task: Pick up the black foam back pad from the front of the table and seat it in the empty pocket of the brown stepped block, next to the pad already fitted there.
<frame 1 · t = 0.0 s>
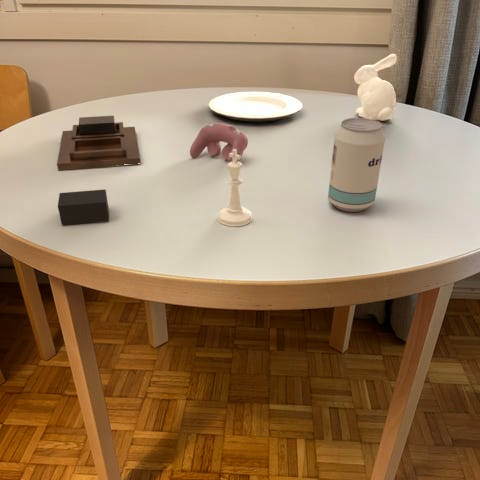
brown stepped block: (100, 150, 99), on the table
rabbit: (371, 115, 117), on the table
chess piece: (234, 220, 76), on the table
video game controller: (219, 160, 95), on the table
plate: (255, 113, 118), on the table
beverage can: (350, 206, 80), on the table
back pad: (85, 216, 76), on the table
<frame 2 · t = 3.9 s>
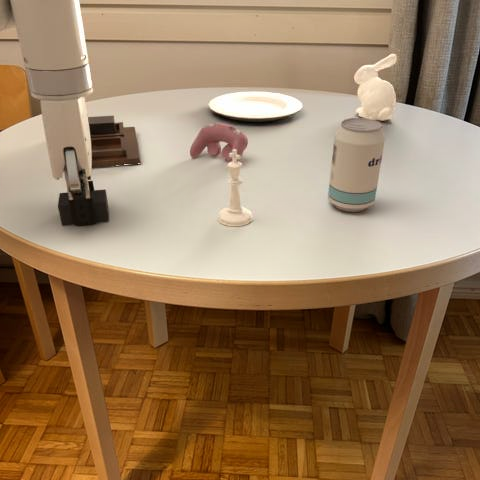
hand: (85, 214, 76), 0 cm above the table, tool pointing down, fingers closed on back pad, 4 cm apart
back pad: (85, 216, 76), on the table, touching gripper
everything else where it was.
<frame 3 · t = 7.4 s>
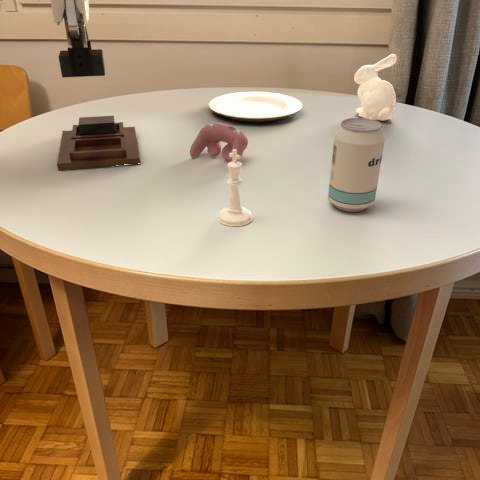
hand: (83, 70, 84), 15 cm above the table, tool pointing down, fingers closed on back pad, 4 cm apart
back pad: (84, 73, 84), point 15 cm above the table, touching gripper
everything else where it was.
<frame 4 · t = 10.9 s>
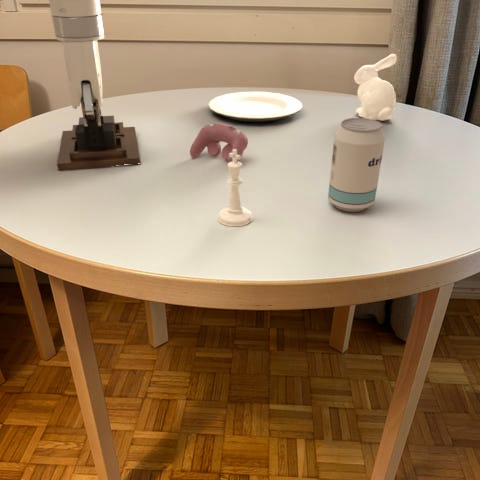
hand: (96, 142, 94), 3 cm above the table, tool pointing down, fingers closed on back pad, 4 cm apart
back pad: (97, 144, 94), point 2 cm above the table, touching gripper
everything else where it was.
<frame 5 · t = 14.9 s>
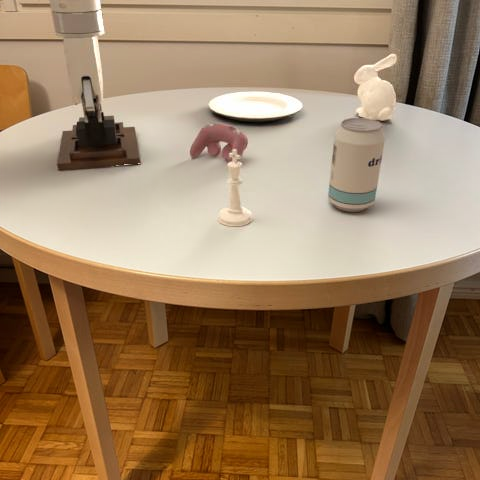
hand: (97, 139, 93), 3 cm above the table, tool pointing down, fingers closed on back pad, 4 cm apart
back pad: (98, 141, 94), point 3 cm above the table, touching gripper
everything else where it was.
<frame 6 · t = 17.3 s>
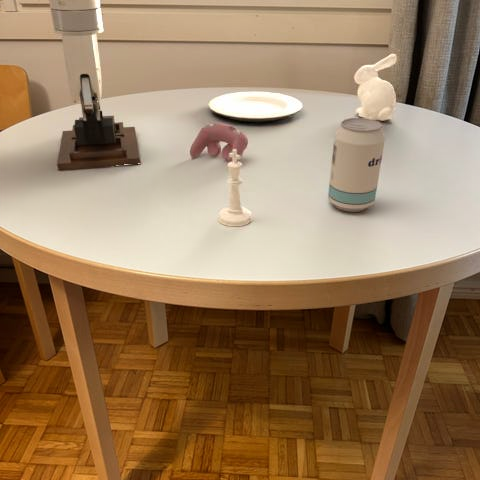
hand: (95, 137, 93), 4 cm above the table, tool pointing down, fingers closed on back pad, 4 cm apart
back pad: (96, 139, 93), point 3 cm above the table, touching gripper
everything else where it was.
when the fingers open (4 cm above the table, at t = 18.9 s): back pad drops 2 cm, resting on brown stepped block.
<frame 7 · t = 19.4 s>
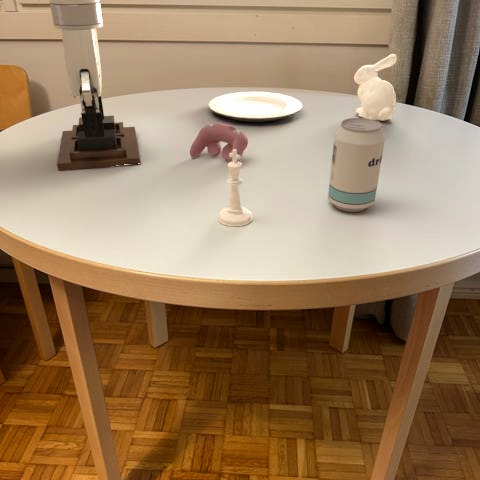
hand: (95, 128, 92), 5 cm above the table, tool pointing down, fingers open, 9 cm apart
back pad: (98, 151, 95), point 1 cm above the table, touching brown stepped block
everything else where it was.
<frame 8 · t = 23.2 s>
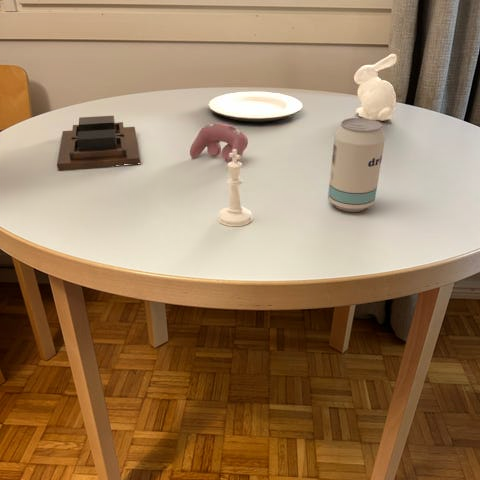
nothing on the table moved.
at the end: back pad 0.1 cm from the target spot on the brown stepped block, point 1.2 cm above the brown stepped block's base; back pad tilted 0°; the gripper is holding nothing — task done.
